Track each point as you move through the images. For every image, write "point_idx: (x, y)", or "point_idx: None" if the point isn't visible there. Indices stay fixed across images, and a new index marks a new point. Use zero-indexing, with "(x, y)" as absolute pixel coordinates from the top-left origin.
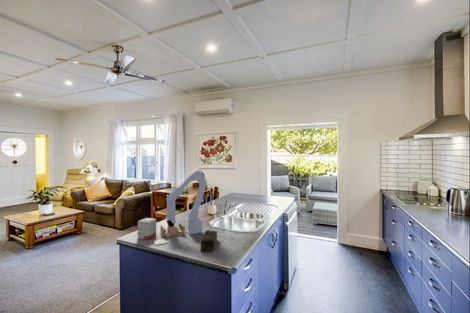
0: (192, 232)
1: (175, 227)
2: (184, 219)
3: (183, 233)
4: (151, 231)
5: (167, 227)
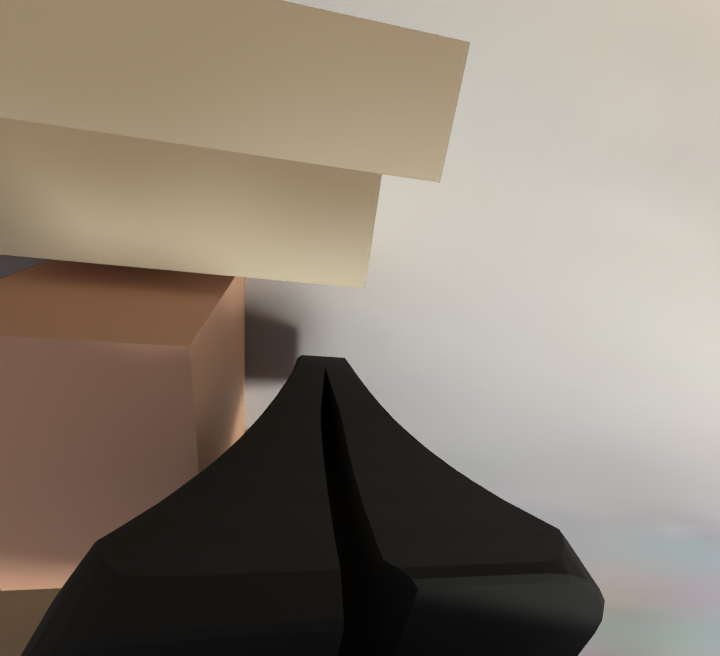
0: None
1: (36, 547)
2: (686, 622)
3: None
4: None
5: (189, 342)
